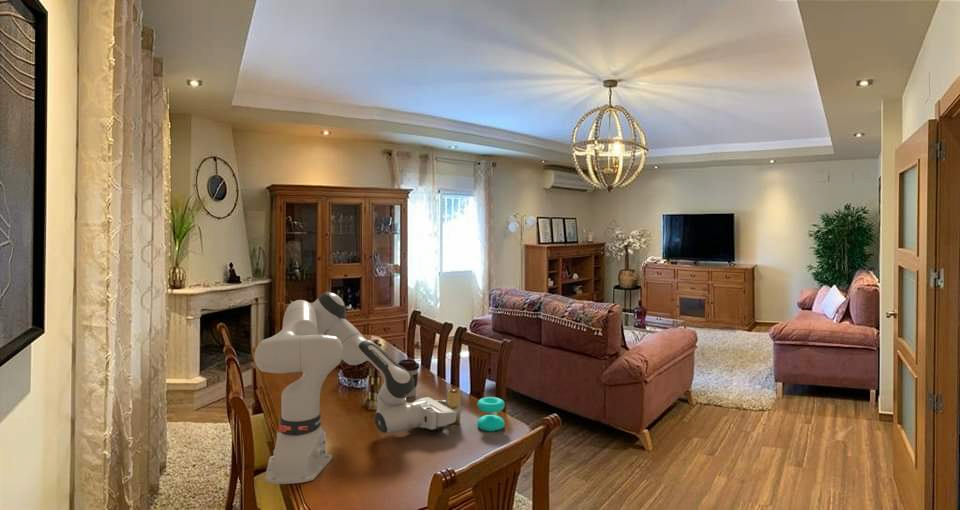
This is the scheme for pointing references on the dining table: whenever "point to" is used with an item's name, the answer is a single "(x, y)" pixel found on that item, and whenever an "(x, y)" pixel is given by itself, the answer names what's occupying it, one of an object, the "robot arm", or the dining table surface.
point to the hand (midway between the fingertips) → (453, 406)
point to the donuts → (491, 407)
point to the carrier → (434, 429)
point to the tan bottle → (454, 402)
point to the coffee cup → (413, 369)
